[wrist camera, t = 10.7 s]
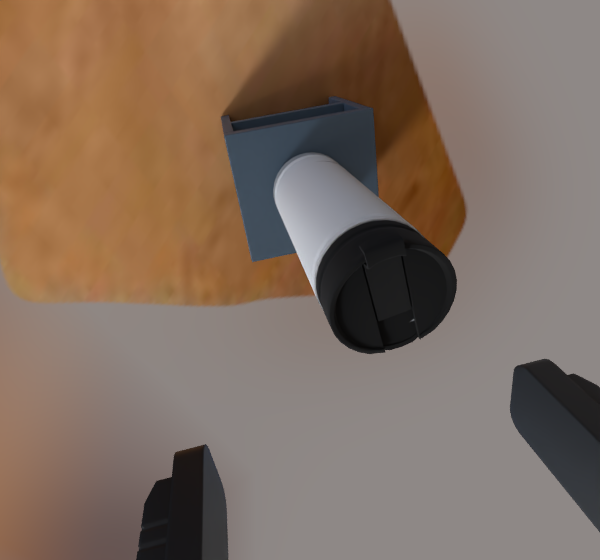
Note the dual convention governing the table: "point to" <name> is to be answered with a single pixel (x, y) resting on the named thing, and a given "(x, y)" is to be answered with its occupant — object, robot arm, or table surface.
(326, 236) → the travel mug
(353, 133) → the shelf
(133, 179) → the table surface
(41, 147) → the table surface
